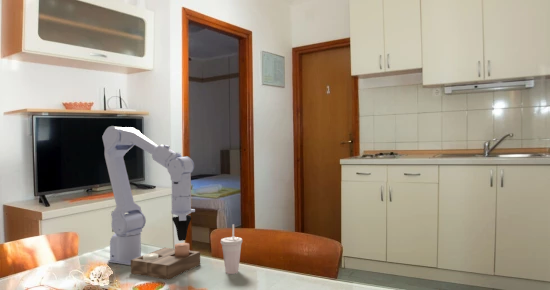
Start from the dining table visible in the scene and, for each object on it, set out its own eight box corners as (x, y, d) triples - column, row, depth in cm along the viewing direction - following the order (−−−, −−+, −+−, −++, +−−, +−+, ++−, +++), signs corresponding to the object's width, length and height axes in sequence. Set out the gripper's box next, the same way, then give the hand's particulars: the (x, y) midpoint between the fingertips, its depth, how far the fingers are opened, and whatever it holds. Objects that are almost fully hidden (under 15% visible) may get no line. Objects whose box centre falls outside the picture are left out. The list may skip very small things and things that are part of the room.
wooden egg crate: (130, 273, 115) (130, 260, 115) (165, 259, 128) (164, 247, 128) (168, 279, 109) (168, 265, 109) (200, 264, 122) (200, 251, 122)
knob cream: (139, 267, 116) (139, 256, 116) (150, 263, 120) (150, 252, 120) (151, 269, 114) (151, 258, 114) (161, 265, 118) (161, 254, 118)
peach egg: (171, 256, 119) (171, 245, 119) (180, 253, 123) (180, 242, 123) (183, 258, 117) (183, 247, 117) (192, 254, 121) (192, 243, 121)
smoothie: (239, 276, 111) (238, 227, 111) (217, 275, 112) (217, 226, 112) (245, 269, 117) (244, 222, 117) (225, 268, 119) (224, 222, 119)
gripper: (196, 198, 114) (197, 244, 114) (193, 192, 128) (193, 234, 128) (171, 199, 112) (172, 246, 112) (170, 193, 126) (171, 235, 126)
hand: (182, 240), depth 120 cm, fingers closed
